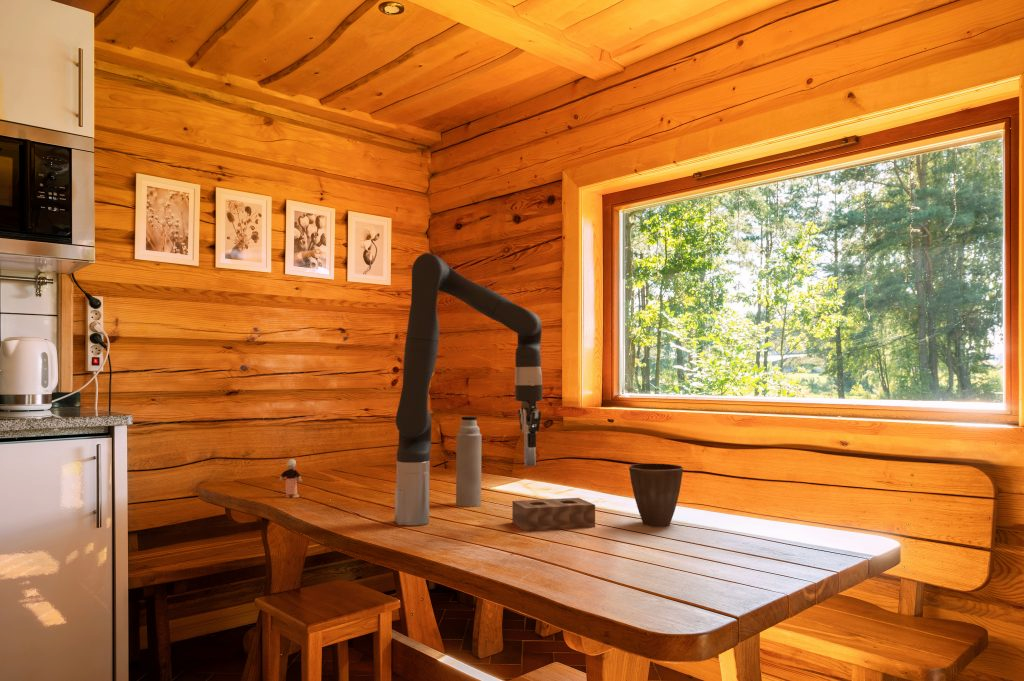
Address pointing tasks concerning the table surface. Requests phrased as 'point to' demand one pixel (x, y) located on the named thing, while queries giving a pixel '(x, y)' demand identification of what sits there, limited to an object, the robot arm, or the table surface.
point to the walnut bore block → (553, 514)
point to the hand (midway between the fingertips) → (529, 446)
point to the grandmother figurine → (291, 479)
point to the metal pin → (528, 450)
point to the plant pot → (656, 491)
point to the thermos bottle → (468, 463)
